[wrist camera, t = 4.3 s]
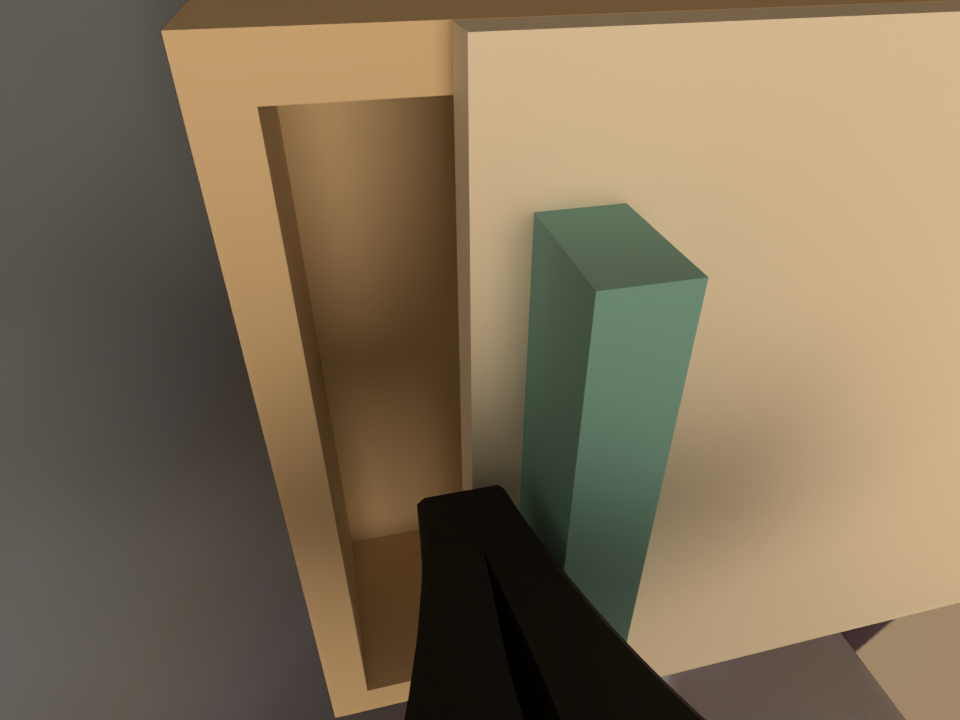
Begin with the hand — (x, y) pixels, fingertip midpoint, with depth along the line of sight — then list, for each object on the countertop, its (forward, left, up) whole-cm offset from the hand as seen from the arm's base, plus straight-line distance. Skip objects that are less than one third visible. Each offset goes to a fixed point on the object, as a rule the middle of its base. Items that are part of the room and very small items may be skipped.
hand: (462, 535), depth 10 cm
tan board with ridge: (0, -11, -3) cm, 11 cm away
